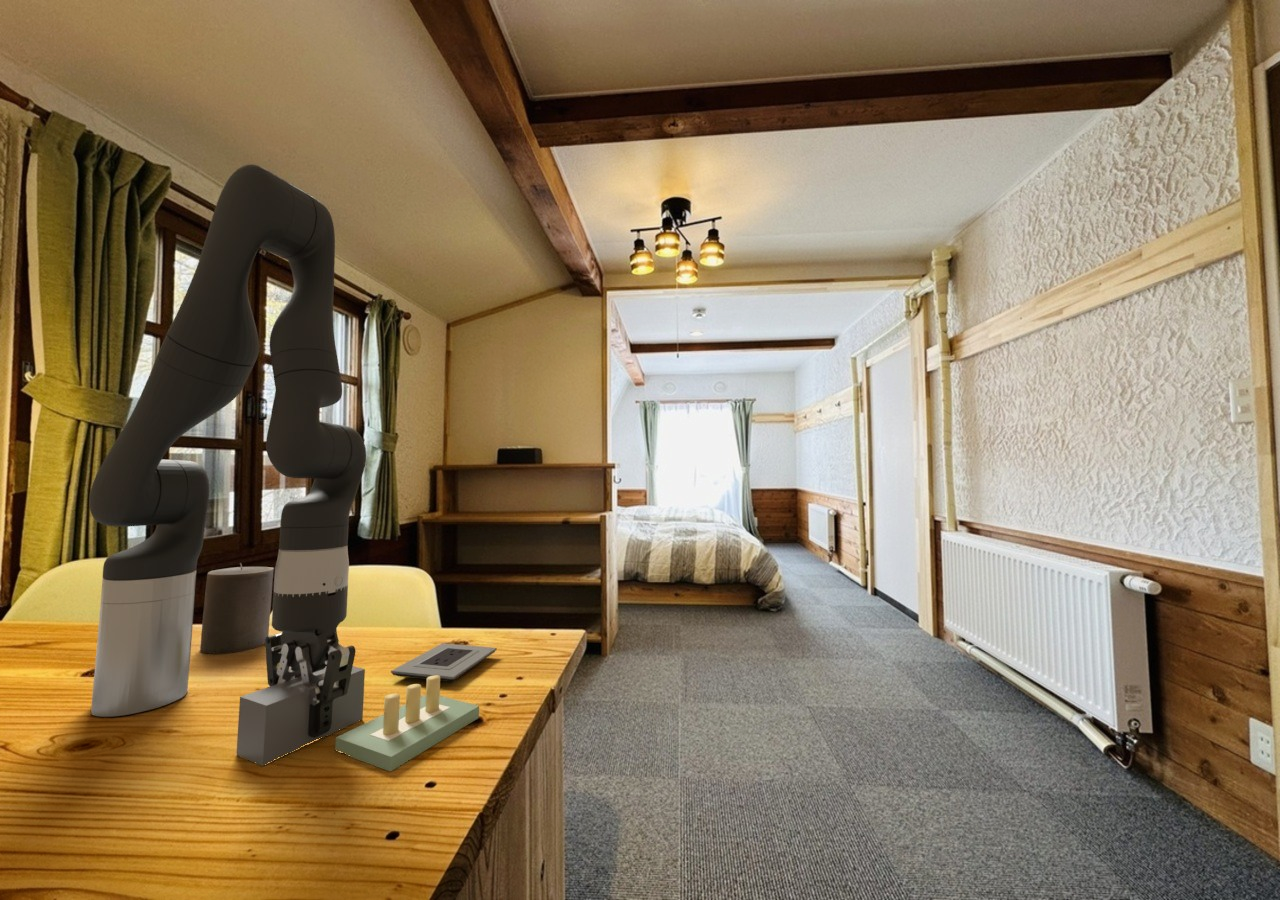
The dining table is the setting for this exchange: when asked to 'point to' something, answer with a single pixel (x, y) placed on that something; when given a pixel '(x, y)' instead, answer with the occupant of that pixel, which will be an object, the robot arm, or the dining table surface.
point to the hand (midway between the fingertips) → (304, 728)
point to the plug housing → (290, 717)
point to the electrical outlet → (444, 662)
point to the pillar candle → (236, 609)
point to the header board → (407, 726)
